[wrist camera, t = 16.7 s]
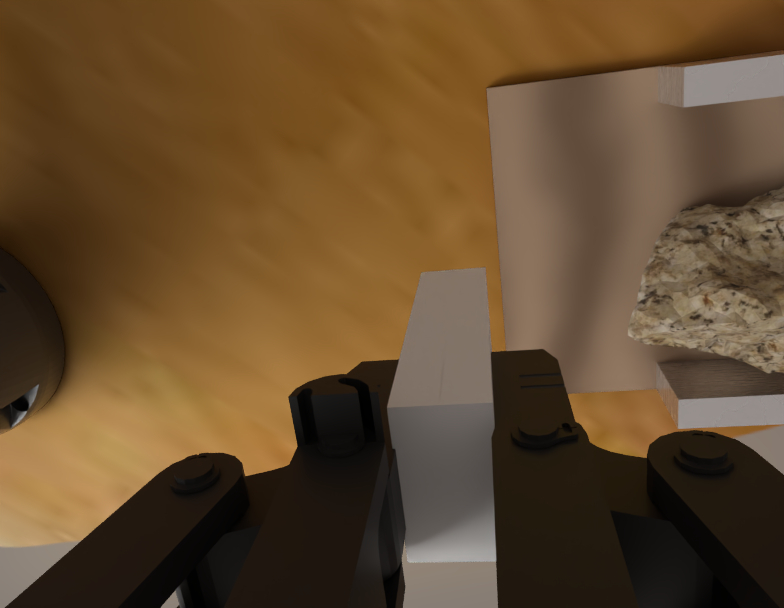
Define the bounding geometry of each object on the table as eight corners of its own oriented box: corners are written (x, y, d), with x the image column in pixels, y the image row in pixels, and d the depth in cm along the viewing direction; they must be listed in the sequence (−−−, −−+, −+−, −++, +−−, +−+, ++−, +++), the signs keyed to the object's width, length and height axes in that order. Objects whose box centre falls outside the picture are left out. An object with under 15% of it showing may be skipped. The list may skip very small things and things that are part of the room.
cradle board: (509, 388, 44) (509, 396, 42) (486, 87, 37) (486, 88, 36) (875, 367, 40) (887, 376, 39) (917, 32, 34) (932, 31, 33)
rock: (868, 426, 34) (980, 307, 26) (613, 404, 36) (645, 289, 29) (822, 266, 40) (900, 132, 33) (608, 256, 43) (634, 130, 35)
